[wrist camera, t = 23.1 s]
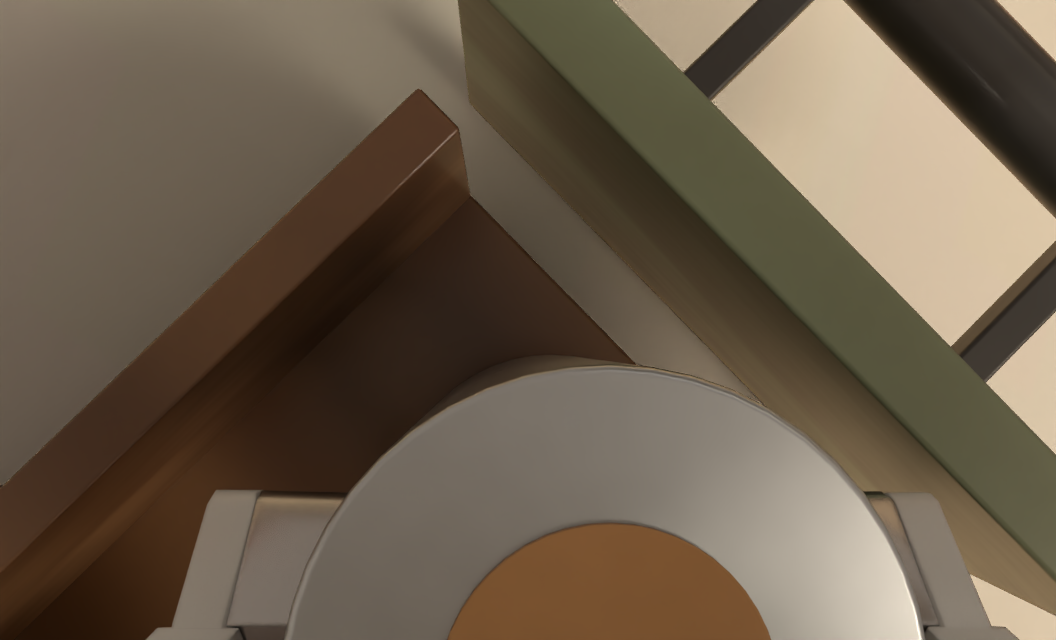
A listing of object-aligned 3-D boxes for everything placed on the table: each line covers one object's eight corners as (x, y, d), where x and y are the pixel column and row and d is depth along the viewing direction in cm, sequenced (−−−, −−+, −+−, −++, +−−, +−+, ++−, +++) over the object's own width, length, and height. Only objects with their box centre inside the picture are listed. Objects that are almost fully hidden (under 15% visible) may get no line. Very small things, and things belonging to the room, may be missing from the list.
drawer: (678, -102, 19) (783, -355, 12) (1098, 330, 19) (1440, 323, 12) (-51, 600, 18) (-388, 760, 11) (393, 1049, 18) (330, 1480, 11)
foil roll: (332, 507, 15) (133, 698, 7) (551, 291, 15) (612, 228, 7) (548, 726, 15) (607, 1181, 7) (764, 508, 15) (1071, 695, 7)
